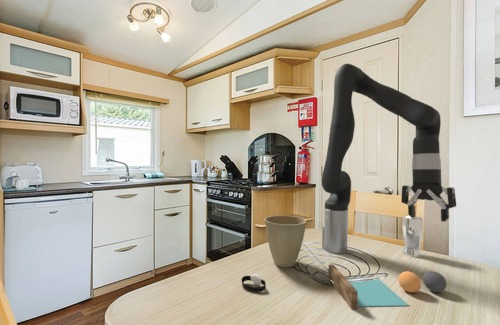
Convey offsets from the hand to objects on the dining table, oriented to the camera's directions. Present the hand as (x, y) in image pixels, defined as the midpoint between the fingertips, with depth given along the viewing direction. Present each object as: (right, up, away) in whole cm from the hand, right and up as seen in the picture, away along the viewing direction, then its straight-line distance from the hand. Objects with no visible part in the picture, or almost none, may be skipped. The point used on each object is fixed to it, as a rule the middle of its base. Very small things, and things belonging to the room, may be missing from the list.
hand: (427, 219), depth 79 cm
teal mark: (-23, -19, -8) cm, 31 cm away
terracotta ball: (-11, -16, -8) cm, 21 cm away
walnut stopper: (-31, -19, -8) cm, 37 cm away
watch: (-56, -19, -6) cm, 59 cm away
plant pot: (-44, -19, +11) cm, 49 cm away
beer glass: (+9, -19, +21) cm, 30 cm away
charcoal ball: (-3, -17, -7) cm, 18 cm away
